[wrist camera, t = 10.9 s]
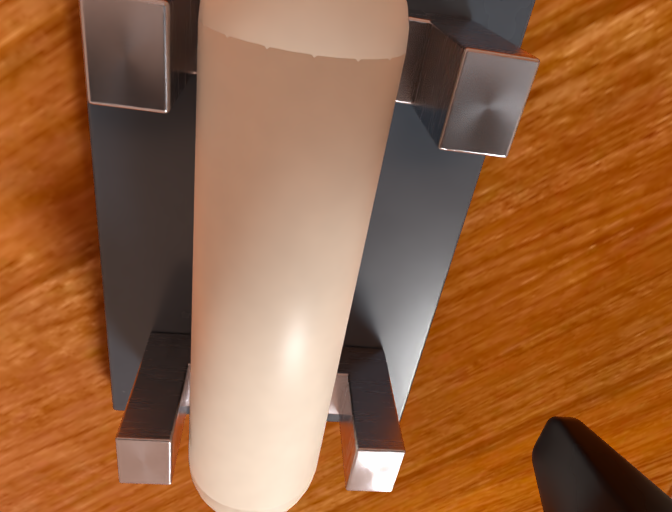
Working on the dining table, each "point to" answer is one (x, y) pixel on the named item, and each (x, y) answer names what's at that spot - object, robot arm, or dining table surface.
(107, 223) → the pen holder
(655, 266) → the dining table surface
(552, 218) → the dining table surface
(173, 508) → the dining table surface
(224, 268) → the soldering pen
